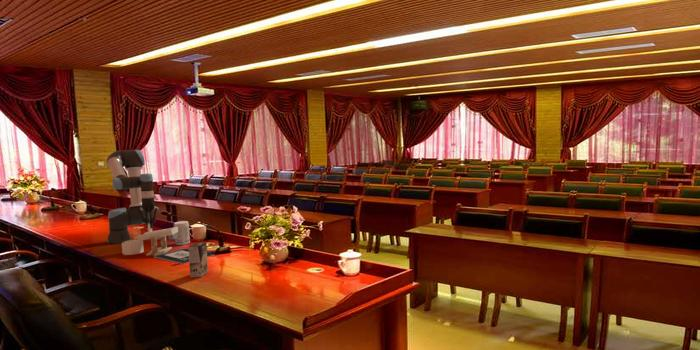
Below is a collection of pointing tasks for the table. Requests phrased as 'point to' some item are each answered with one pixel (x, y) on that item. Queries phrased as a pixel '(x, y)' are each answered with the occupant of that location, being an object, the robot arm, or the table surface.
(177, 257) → the sketchbook
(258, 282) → the table surface
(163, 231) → the seesaw chute
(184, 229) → the supplement tub
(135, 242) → the cup
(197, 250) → the coffee box
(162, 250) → the chute stand
